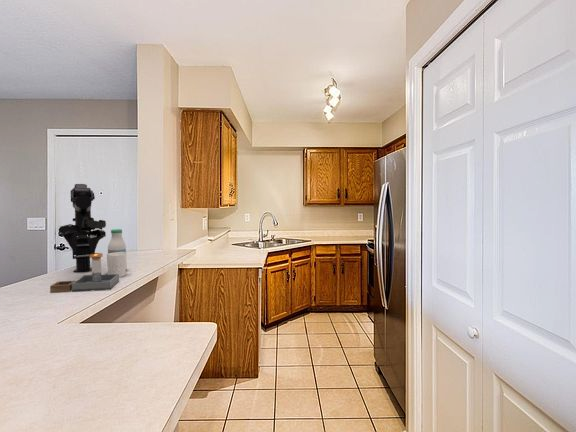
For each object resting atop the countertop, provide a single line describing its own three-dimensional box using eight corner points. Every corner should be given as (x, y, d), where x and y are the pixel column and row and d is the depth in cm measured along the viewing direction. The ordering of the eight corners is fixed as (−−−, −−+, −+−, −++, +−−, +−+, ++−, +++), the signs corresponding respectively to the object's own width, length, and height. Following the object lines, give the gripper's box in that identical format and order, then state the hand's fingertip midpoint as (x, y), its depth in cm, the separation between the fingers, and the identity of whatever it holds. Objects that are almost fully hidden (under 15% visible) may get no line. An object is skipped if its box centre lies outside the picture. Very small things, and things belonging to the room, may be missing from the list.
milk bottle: (108, 270, 157) (107, 228, 156) (126, 269, 161) (125, 228, 159) (107, 274, 150) (106, 230, 149) (126, 272, 154) (125, 229, 152)
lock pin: (90, 283, 132) (89, 253, 131) (102, 281, 134) (102, 252, 133) (90, 286, 128) (89, 255, 127) (103, 284, 130) (103, 254, 130)
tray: (84, 282, 136) (84, 275, 136) (118, 280, 139) (118, 273, 139) (72, 291, 123) (71, 283, 123) (110, 289, 126) (110, 282, 126)
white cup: (130, 274, 151) (130, 252, 150) (120, 278, 143) (119, 255, 142) (114, 273, 152) (113, 252, 151) (103, 277, 144) (102, 255, 143)
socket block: (57, 287, 128) (57, 281, 128) (76, 286, 129) (76, 280, 129) (50, 292, 122) (50, 286, 122) (69, 291, 123) (69, 285, 123)
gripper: (80, 207, 129) (82, 246, 126) (115, 216, 147) (117, 250, 143) (57, 213, 131) (57, 251, 128) (94, 221, 149) (95, 255, 145)
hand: (84, 252), depth 136 cm, fingers open, 9 cm apart
